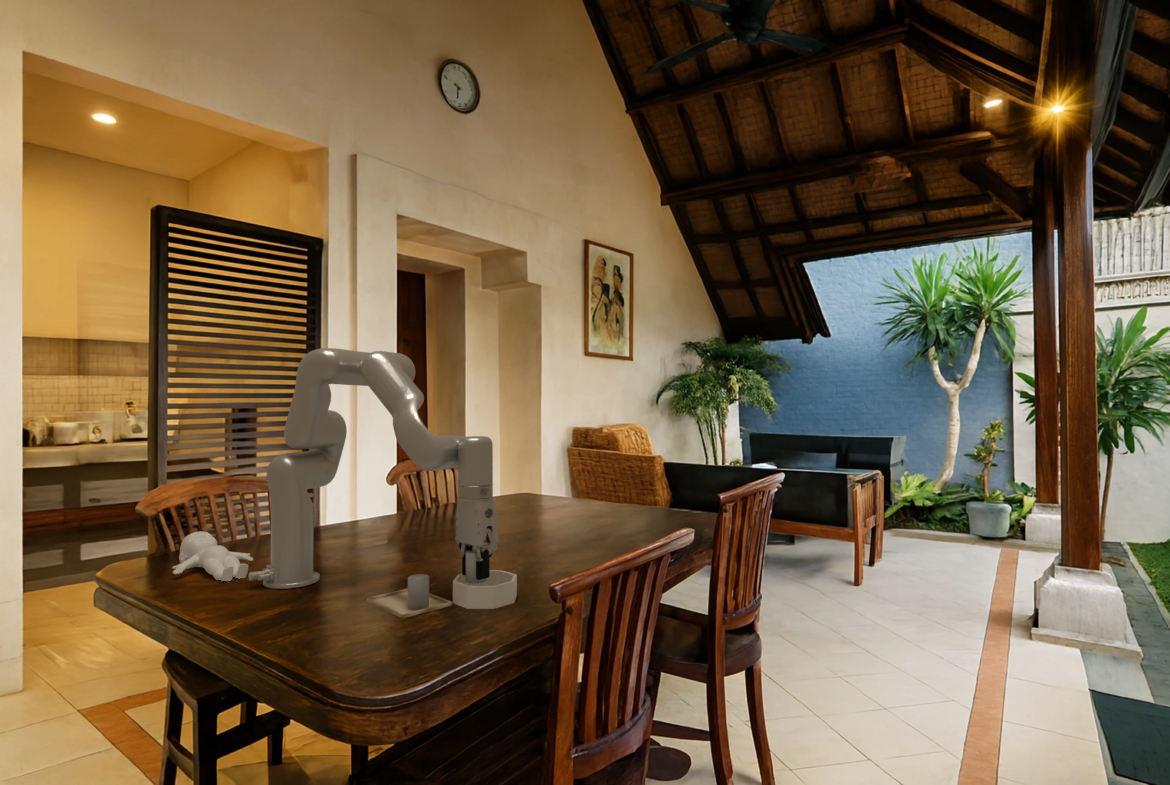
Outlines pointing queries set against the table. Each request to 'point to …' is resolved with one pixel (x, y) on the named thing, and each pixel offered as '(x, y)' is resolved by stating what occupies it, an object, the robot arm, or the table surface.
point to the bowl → (486, 591)
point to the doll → (211, 557)
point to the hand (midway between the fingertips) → (475, 575)
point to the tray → (405, 603)
